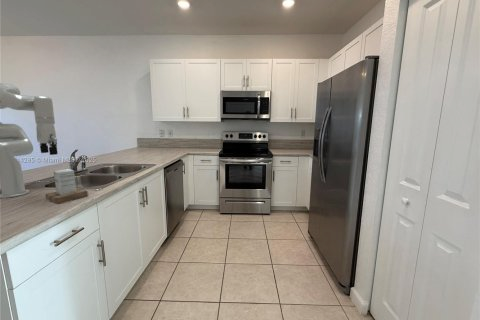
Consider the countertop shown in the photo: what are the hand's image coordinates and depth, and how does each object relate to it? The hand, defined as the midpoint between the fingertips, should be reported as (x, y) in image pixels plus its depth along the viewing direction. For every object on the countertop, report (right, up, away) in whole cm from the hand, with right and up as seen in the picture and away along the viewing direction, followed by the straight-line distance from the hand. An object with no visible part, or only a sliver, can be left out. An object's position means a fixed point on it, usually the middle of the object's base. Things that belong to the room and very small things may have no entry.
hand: (49, 153), depth 117 cm
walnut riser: (+6, -24, +5) cm, 26 cm away
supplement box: (+6, -22, +4) cm, 23 cm away
